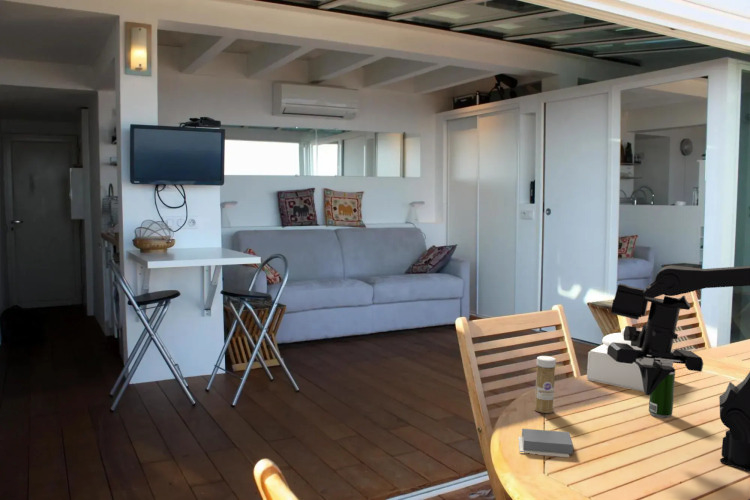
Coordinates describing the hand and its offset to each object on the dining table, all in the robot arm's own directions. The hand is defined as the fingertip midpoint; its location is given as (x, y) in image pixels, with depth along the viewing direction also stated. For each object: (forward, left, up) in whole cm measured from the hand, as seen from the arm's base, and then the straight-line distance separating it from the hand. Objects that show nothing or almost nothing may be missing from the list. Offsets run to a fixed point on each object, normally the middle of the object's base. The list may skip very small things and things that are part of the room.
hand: (647, 394), depth 146 cm
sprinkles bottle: (+27, -1, -12) cm, 29 cm away
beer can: (+8, -22, -12) cm, 26 cm away
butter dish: (+28, -42, -12) cm, 52 cm away
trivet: (+13, +19, -12) cm, 25 cm away
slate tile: (+8, +15, -10) cm, 20 cm away
